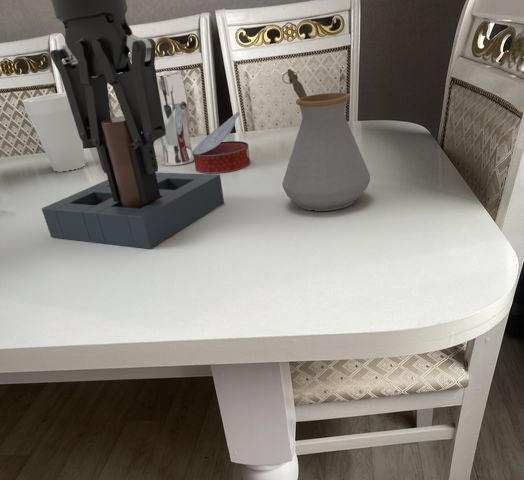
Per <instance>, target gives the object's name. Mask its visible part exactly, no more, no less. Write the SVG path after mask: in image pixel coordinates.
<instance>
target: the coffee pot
mask: <svg viewBox="0 0 524 480" xmlns="http://www.w3.org/2000/svg"><path fill="white" fill-rule="evenodd" d="M286 74H287V77H288V82H286V81H285V80H284V77H285V75H286ZM281 79H282V82H283V83H284V84H288V85H290V84H291V85H292V87H293V88H292V89H293V91H294V92H295V94H296V95H297V97H298V98H297V99H296V100H295V103H296V105H297V106H299V109H300V113H301V117H302V119H301V121H300V125H299V128H298V132H297V134H296V138H295V140H294V144H293V148H292V150H291V154H290V157H289V161H288V164H287V167H286V170H285V173H284V175H283V181H282V183H281V184H282V185H281V186H282V189H283V190H284V193H285V194H286V196H287V197H288V198H289V199H290V200H291V201H293V203H295V204H297V206H298V207H299V208H301V209H303V210H306V209H307V210H306V211H311V210H315V211H314V212H329V211H336V210H337V211H338V210H342V209H344V208H347V207H349V206H352V205H354V204H355V202H356V201H357V199H358V198H360V197H361V196H362V195H363V193H364V192H365V191H366V190H367V189H368V187H369V184H370V181H371V174H370V172H369V169H368V167H367V164H366V163H365V160H364V158H363V156H362V153H361V151H360V148H359V146H358V143H357V141H356V138H355V136H354V134H353V132H352V130H351V127H350V124H349V122H348V120H347V118H346V115H345V110H346V107H347V103H348V101H349V99H350V98H351V93H347V92H327V93H318V94H312V95H307V93H306V90H305V88H304V86H303V84H302V82H300V81H299V78H298V73H297V72H296V71H294V70H292V69H291V68H288V69H287V71H286V72H284V73H283V74H282V77H281Z"/></svg>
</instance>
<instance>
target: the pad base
mask: <svg viewBox="0 0 524 480" xmlns="http://www.w3.org/2000/svg"><path fill="white" fill-rule="evenodd" d="M155 173H156V178H157V182H158V187H159V191H160V196H161V197H159V198H157V199H155V200H154V202H152V203H150V204H148V205H146V206H144V207H142V208H124V207H123V206H122V202H121V201H119V202H114V200H113V196H112V193H111V189H110V185H109V181H108V179H106V180H103V181H101V182H98V183H96V184H93V185H92V186H90V187H88V188H85V189H83V190H81V191H78V192H76V193H74V194H71V195H69V196H67V197H64V198H62V199H60V200H57V201H55V202H53V203H50V204H48V205H46V206H44V207H42V208H41V211H42V215H43V218H44V221H45V223H46V225H47V229H48V232H49V234H50V237H51V238H53V239H63V240H72V241H79V242H88V243H89V242H90V243H97V244H104V245H105V244H106V245H112V246H113V245H114V246H122V247H130V248H139V249H147V250H148V249H149V250H152V249H153V248H155V247H156V246H158V245H160V244H161V243H163V242H164V241H166V240H167V239H169V238H171V237H172V236H175V234H177V233H179V232H180V231H182V230H183V229H185V228H186V227H188V226H190V225H191V224H193V223H195V222H196V221H198V220H199V219H201V218H203V217H204V216H206V215H207V214H208V213H210V212H212V211H214V210H215V209H216V208H218V207H219V206H221V205H223V204H225V199H224V192H223V184H222V178H221V174H218V173H185V172H183V173H181V172H180V173H179V172H158V171H157V172H155Z"/></svg>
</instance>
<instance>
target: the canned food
mask: <svg viewBox="0 0 524 480" xmlns="http://www.w3.org/2000/svg"><path fill="white" fill-rule="evenodd" d="M239 116H240V112H239V111H236V112H235V114H233V115H232V116H231V117H230V118H228V119H227V120H225V121H224V122H223V123H222V124H221V125H219V126H218V127H217V128H216V129H214V130H213V131H212V132H211V133H209V134H208V135H206V137H205V138H204V139H203V140H201V141H200V142H199V143H198V144H197V145H196V147H194V149H192V150H193V156H194V161H193V162H194V167H195V171H196V172H197V173H200V174H222V173H223V174H224V173H230V172H235V171H238V170H242V169H244V168H246V167H247V166H249V165H250V164H251V156H250V148H249V143H248V142H246V141H240V140H230V141H228V140H227V141H225V140H226V139H227V138H228V136H229V135H230V134H231V132H232V131H233V129H234V127H235V124H236V120H237V118H238V117H239Z"/></svg>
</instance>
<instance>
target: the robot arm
mask: <svg viewBox="0 0 524 480" xmlns="http://www.w3.org/2000/svg"><path fill="white" fill-rule="evenodd" d="M50 2H51V4H52V8H53V12H54V15H55V18H56V19H57V20H58V21H59V22H61V23H63V26H64V32H65V33H64V42H65V43H64V44H63V45H62V46H61V47H60V48H59V49H52V50H51V51H50V58H51V60H52V61H53V62H52V63H53V64H54V65H55V68H56V69H57V71H58V73H59V75H60V79H61V82H62V85H63V88H64V92H66V95H67V98H68V101H69V104H70V108H71V111H72V114H73V117H74V121H75V124H76V127H77V130H78V133H79V137H80V139H81V140H82V142H83V143H84V142H89V143H91V144H92V145H93V146H94V147H95V148H96V151H97V155H98V158H99V159H98V160H99V162H100V163H99V164H100V167H101V170H102V171H103V173H104V174H106V178H107V180H108V181H109V185H110V189H111V193H112V196H113V200H114V202H119V201H121V198H120V194H119V190H118V187H117V183H116V179H115V175H114V171H113V167H112V163H111V159H110V156H109V152H108V148H107V144H106V140H105V136H104V132H103V128H102V125H101V122H102V121H103V120H106V119H110V118H112V117H111V107H110V100H109V98H110V97H109V87H108V84H109V85H110V86H111V87H112V89H113V92H114V93H115V97H116V100H117V102H118V105H119V107H120V110H121V114H122V116H124V118H125V121H126V123H127V126H128V129H129V131H130V134H131V137H132V139H133V142H134V143H133V144H130V146H131V147H132V148H130V152H131V157H132V161H133V165H134V169H135V174H136V178H137V182H138V186H139V190H140V195H141V199H142V203H143V204H148V203H150V202H152V201H154V200H155V199H157V198H159V197H161V196H160V191H159V187H158V182H157V178H156V173H155V172H158V171H159V165H158V164H159V163H158V160H157V155H156V151H155V142H156V141H157V140H160V138H161V137H163V136H165V134H166V130H165V124H164V118H163V112H162V106H161V100H160V94H159V88H158V82H157V76H156V73H157V71H156V64H155V63H156V50H157V44H156V41H155V40H154V39H153V38H145V39H144V38H141V37H140V36H137V35H135V34H134V33H133V31H132V29H131V27H130V25H129V23H128V21H127V18H126V14H127V12H128V3H127V0H51V1H50Z"/></svg>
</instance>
